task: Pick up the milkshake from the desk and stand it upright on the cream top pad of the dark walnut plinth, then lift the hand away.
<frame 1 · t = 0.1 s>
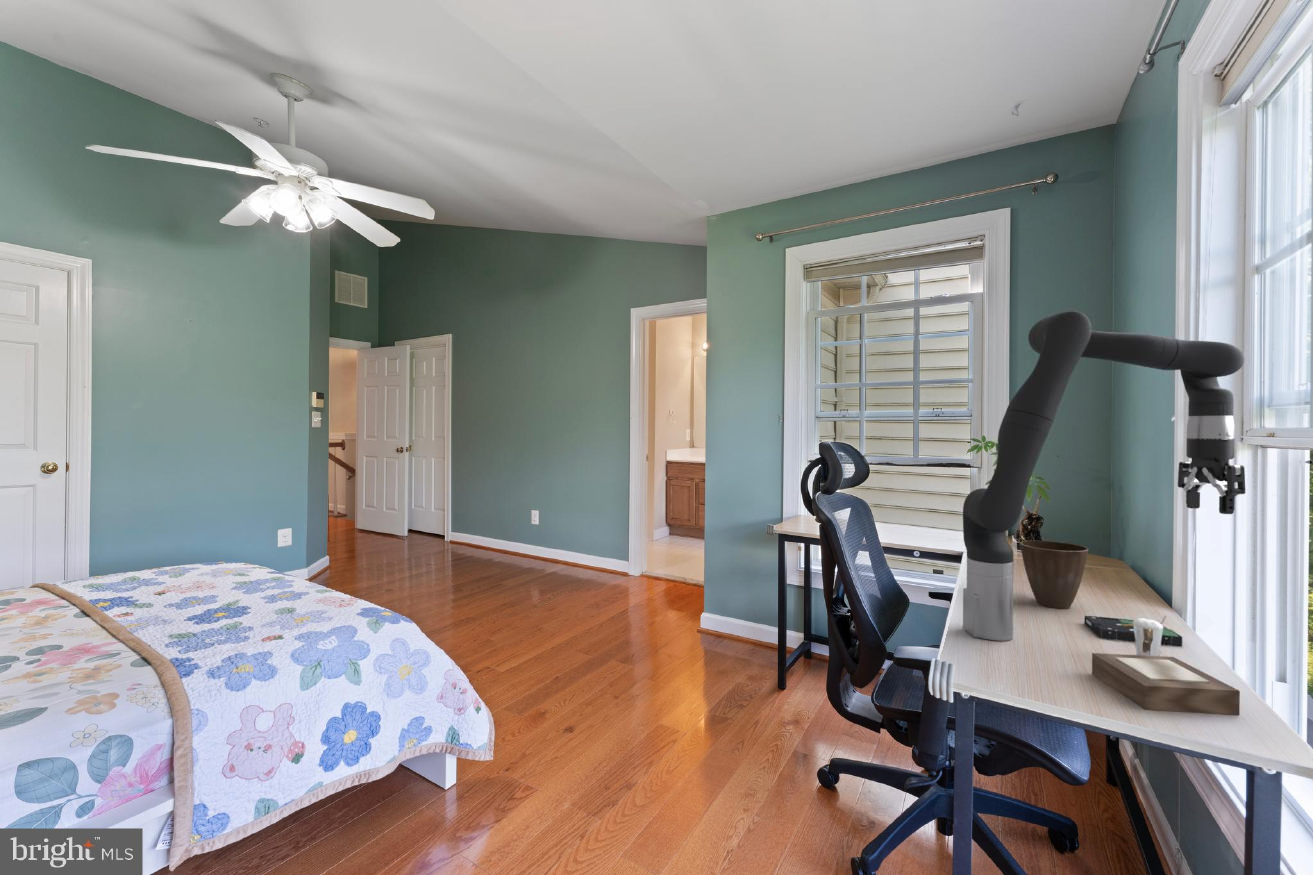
hand: (1209, 511, 123), 29 cm above the table, tool pointing down, fingers open, 8 cm apart
disk drive: (1130, 637, 129), on the table
milkshake: (1149, 665, 112), on the table
plinth: (1159, 692, 100), on the table
plant pot: (1052, 605, 151), on the table
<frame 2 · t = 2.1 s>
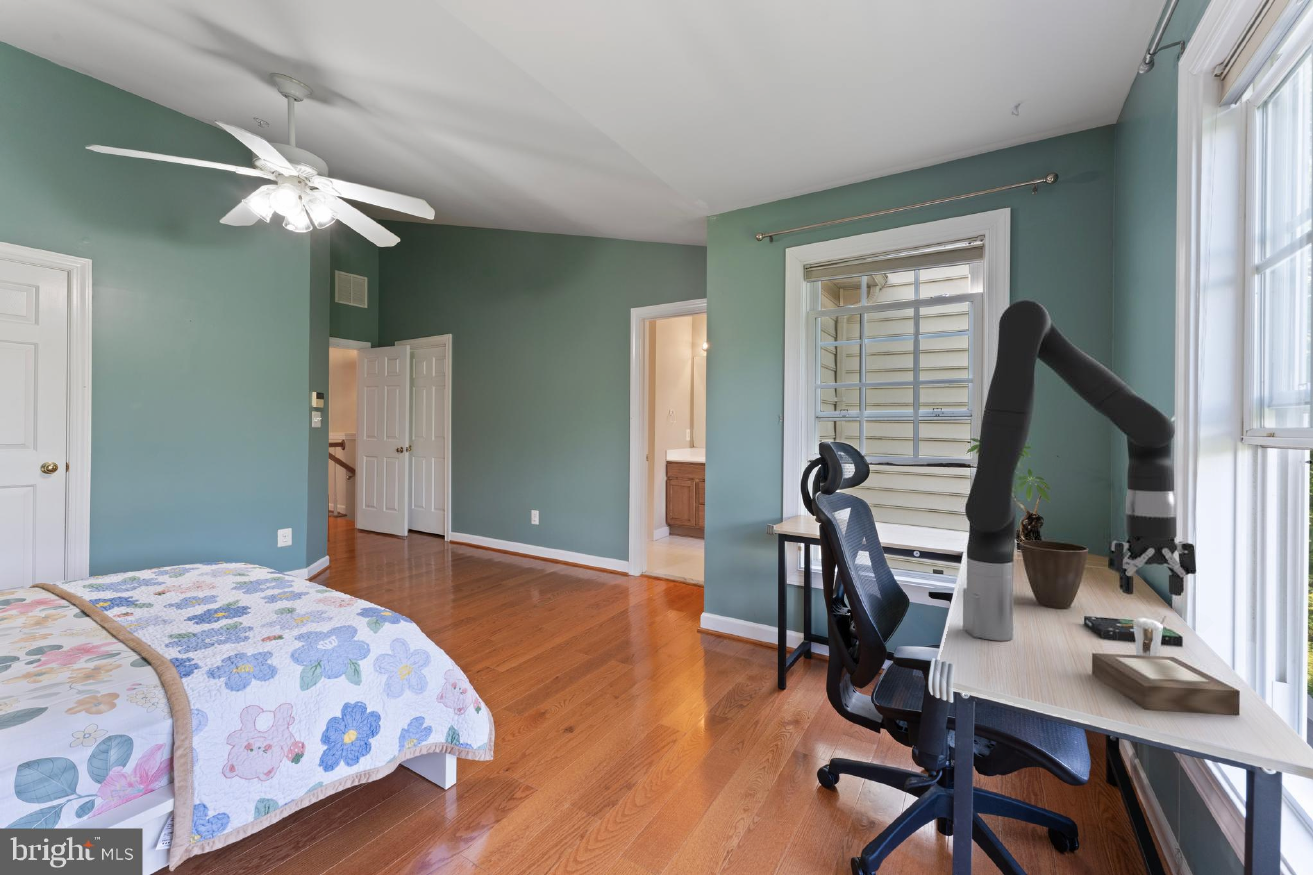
hand: (1151, 594, 112), 14 cm above the table, tool pointing down, fingers open, 8 cm apart
nothing on the table moved.
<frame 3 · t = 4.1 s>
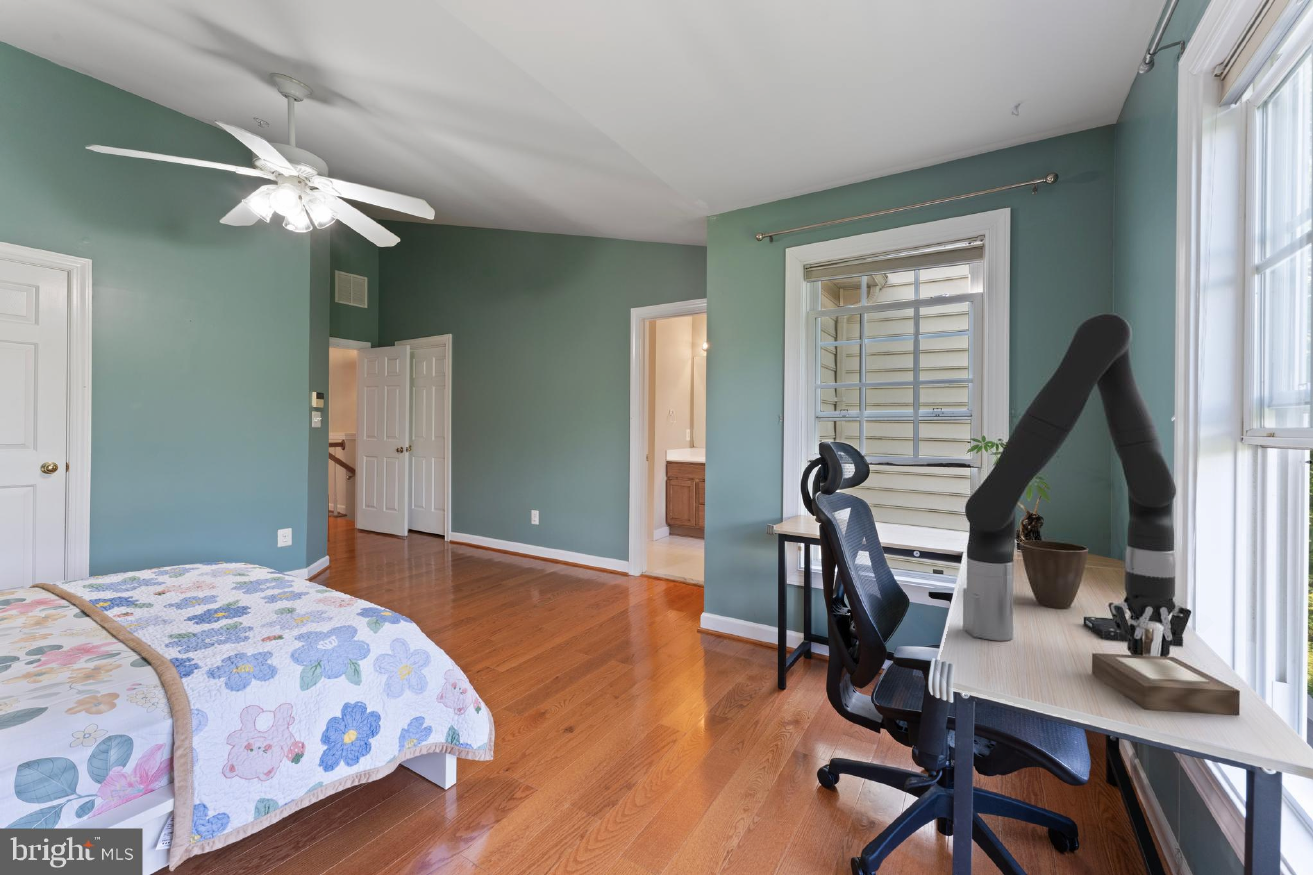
hand: (1148, 655, 112), 2 cm above the table, tool pointing down, fingers closed on milkshake, 4 cm apart
milkshake: (1149, 665, 112), on the table, touching gripper
everything else where it was.
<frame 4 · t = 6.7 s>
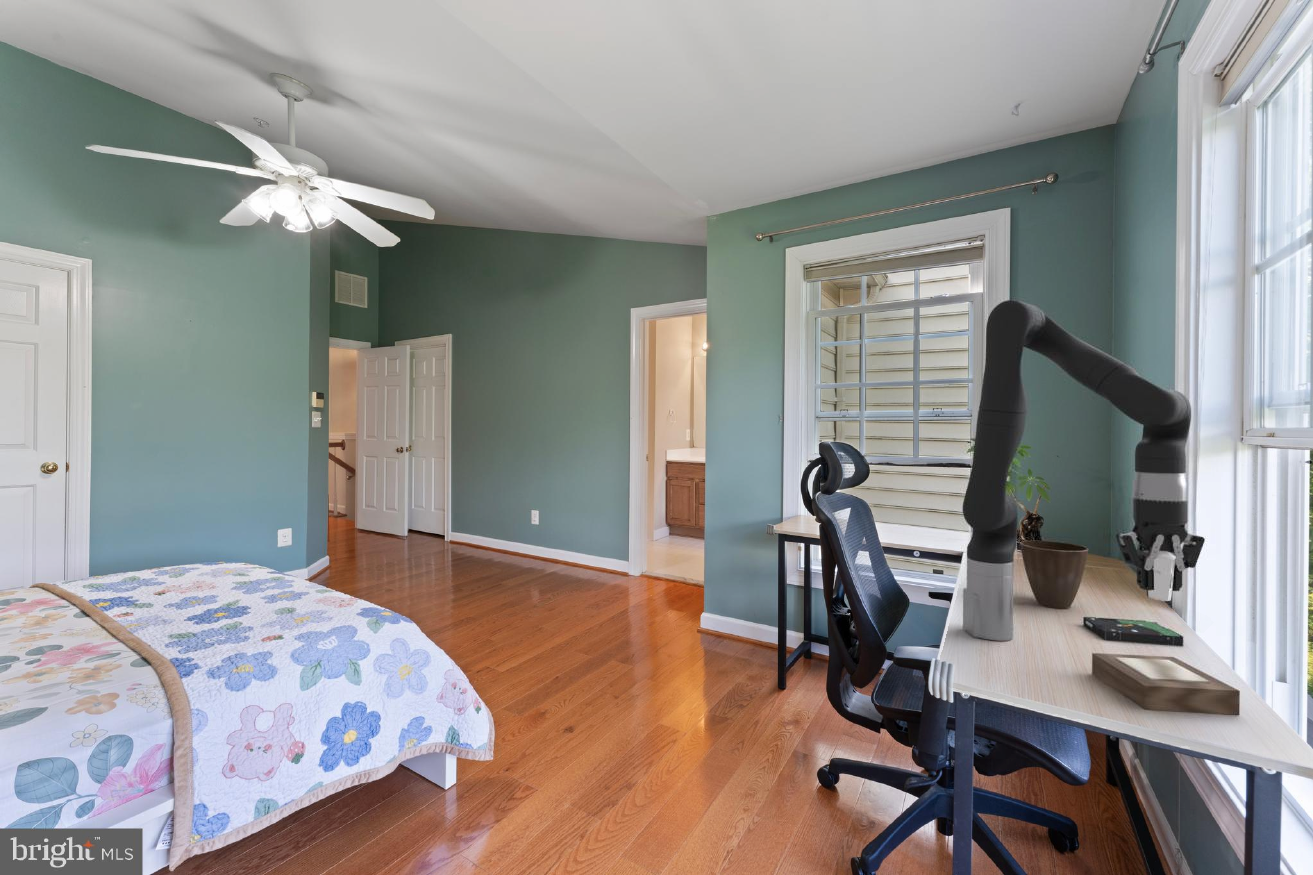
hand: (1159, 589, 104), 17 cm above the table, tool pointing down, fingers closed on milkshake, 4 cm apart
milkshake: (1161, 599, 104), point 15 cm above the table, touching gripper
everything else where it was.
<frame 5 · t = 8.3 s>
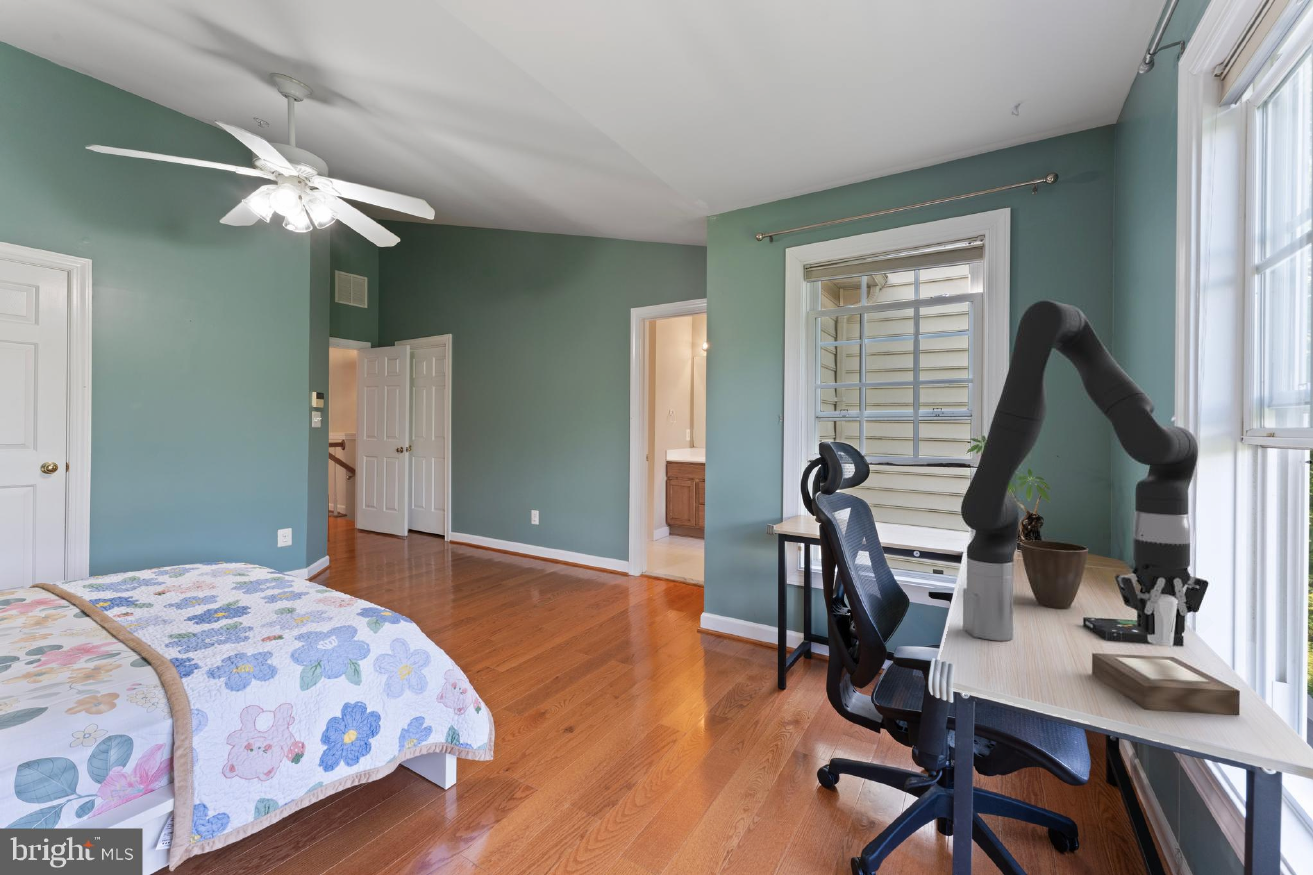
hand: (1160, 633, 100), 11 cm above the table, tool pointing down, fingers closed on milkshake, 4 cm apart
milkshake: (1162, 644, 100), point 9 cm above the table, touching gripper
everything else where it was.
when the fingers open (7 cm above the table, at t = 9.6 s): milkshake drops 1 cm, resting on plinth.
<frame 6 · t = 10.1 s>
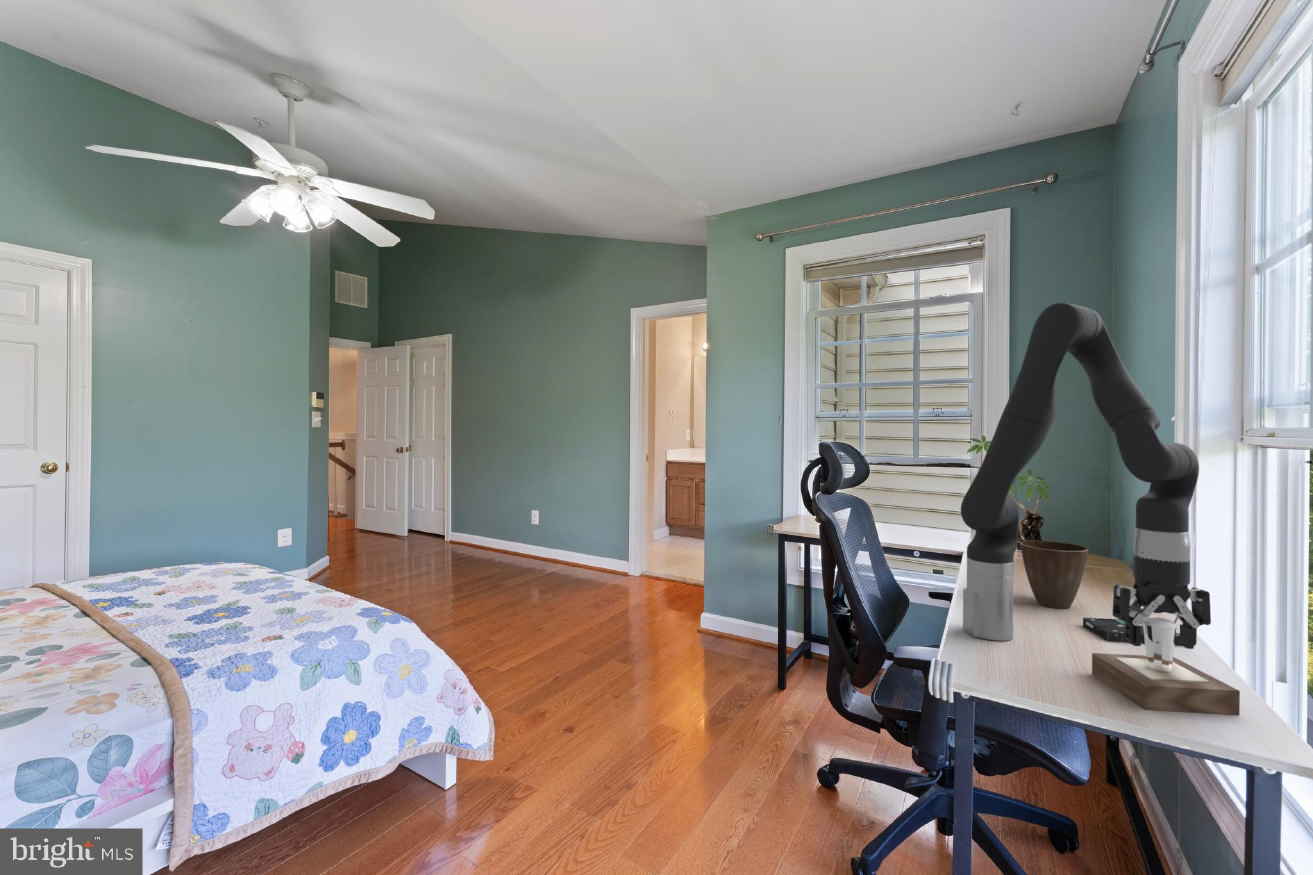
hand: (1160, 645, 100), 8 cm above the table, tool pointing down, fingers open, 8 cm apart
milkshake: (1161, 669, 100), point 4 cm above the table, touching plinth
everything else where it was.
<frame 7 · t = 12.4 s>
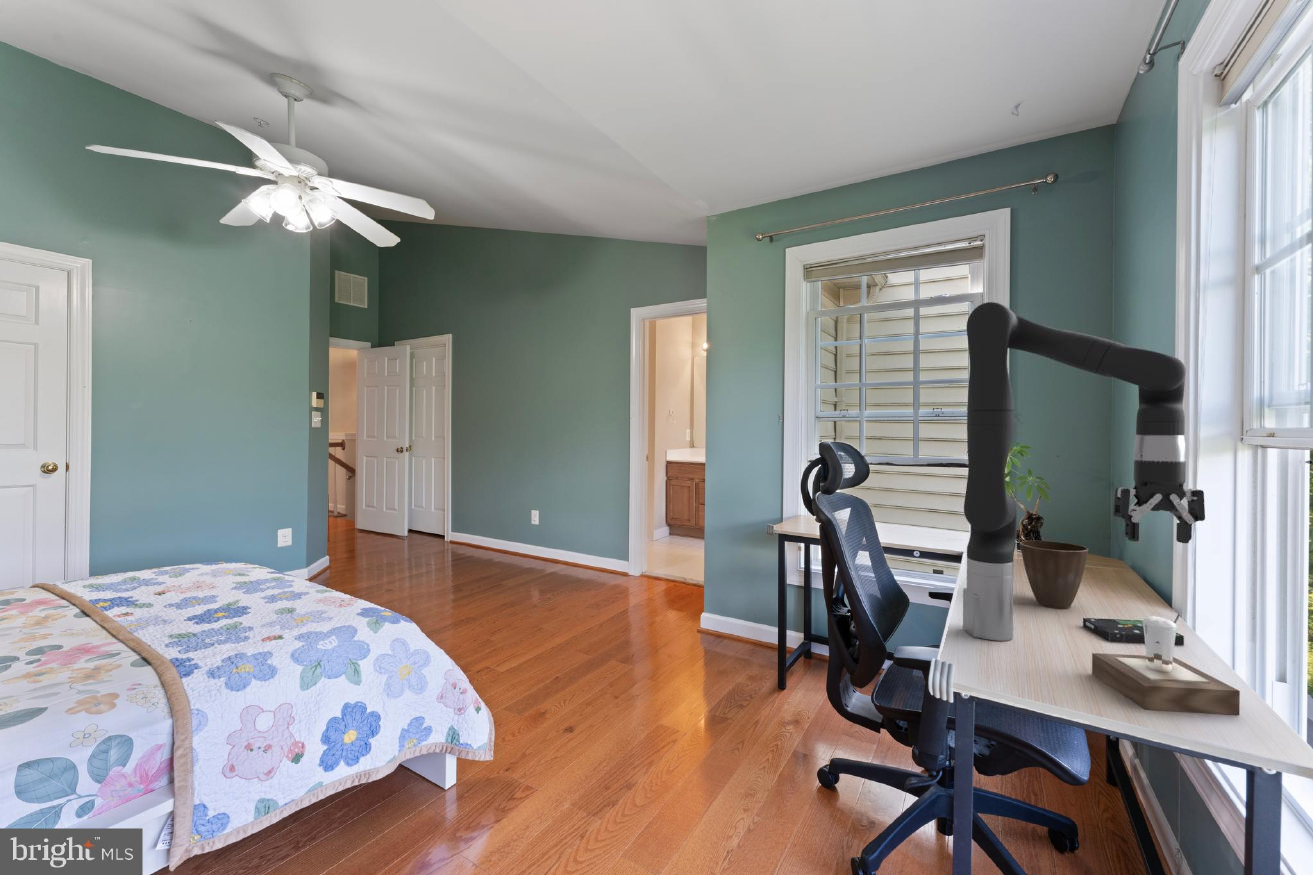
hand: (1157, 541, 109), 25 cm above the table, tool pointing down, fingers open, 8 cm apart
nothing on the table moved.
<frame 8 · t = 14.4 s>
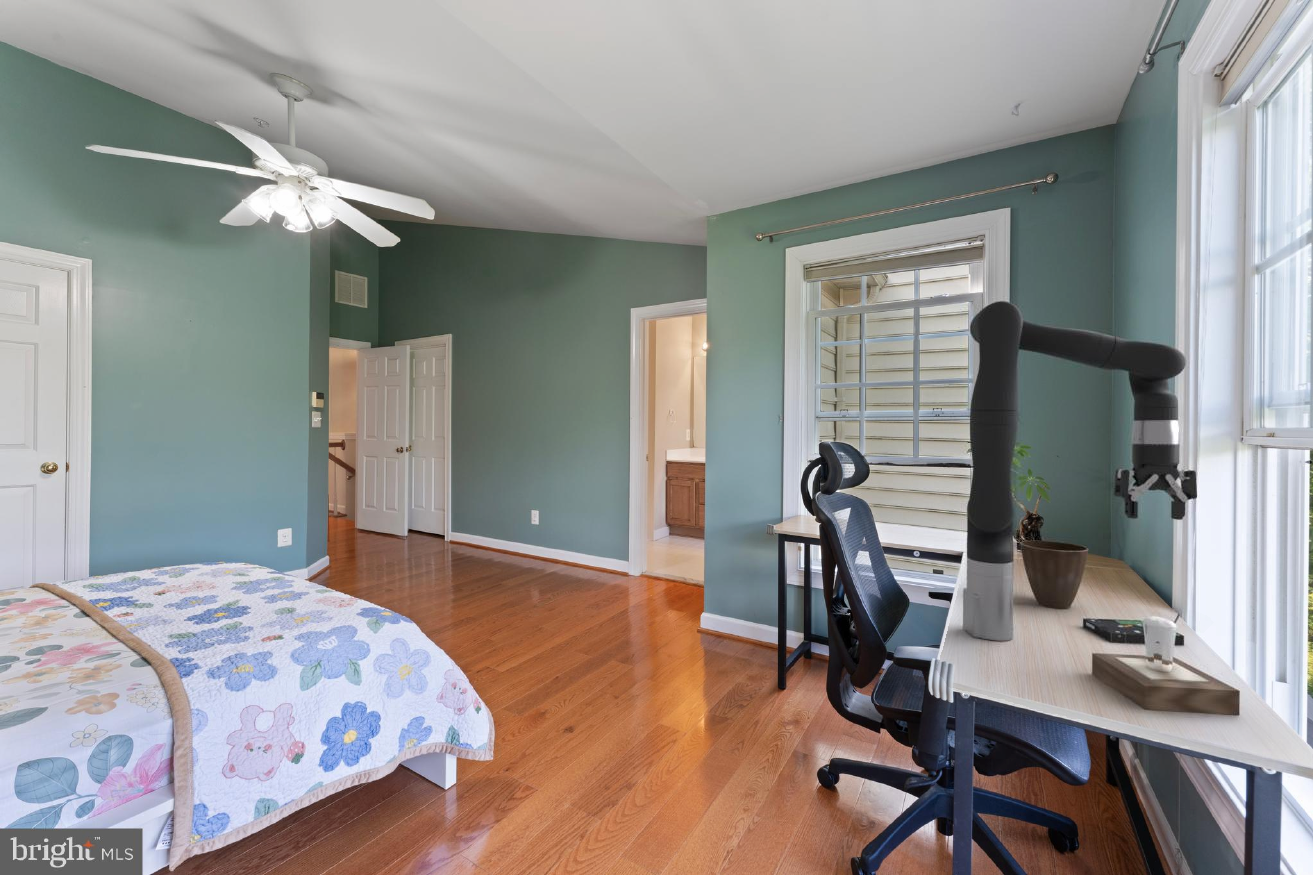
hand: (1154, 518, 119), 28 cm above the table, tool pointing down, fingers open, 8 cm apart
at the end: milkshake inside the target area on the plinth (0.2 cm from its centre), point 4.1 cm above the plinth's base; milkshake tilted 0°; the gripper is holding nothing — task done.
